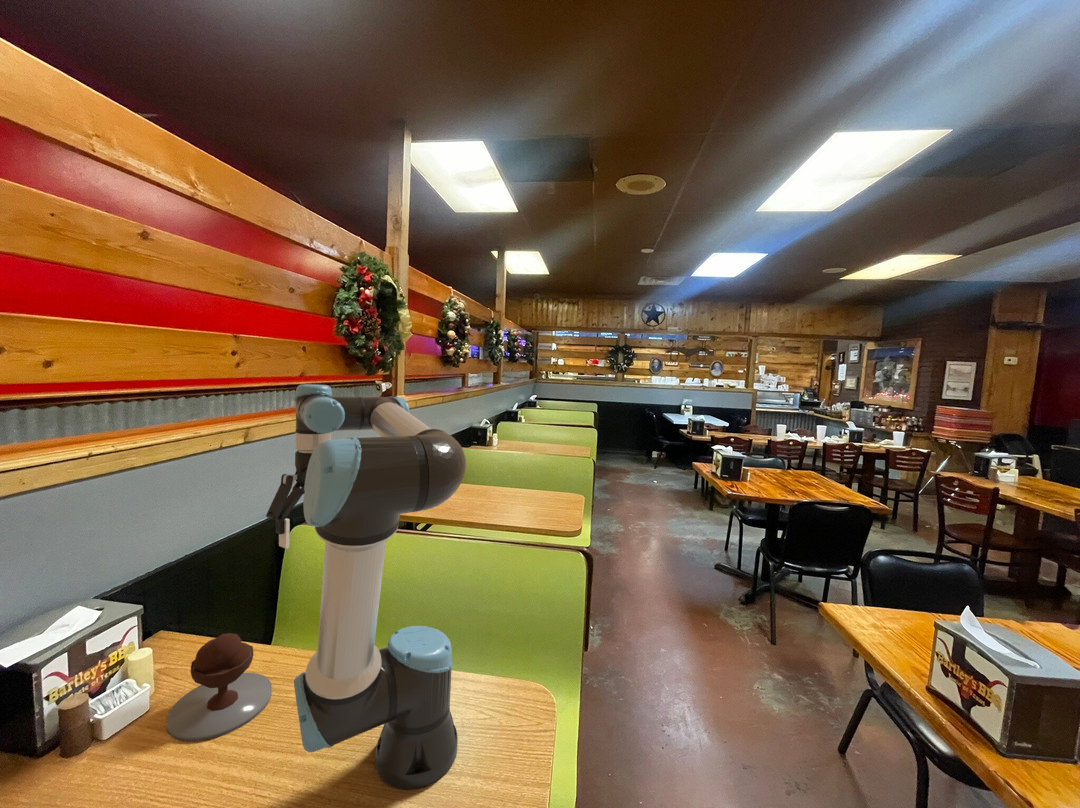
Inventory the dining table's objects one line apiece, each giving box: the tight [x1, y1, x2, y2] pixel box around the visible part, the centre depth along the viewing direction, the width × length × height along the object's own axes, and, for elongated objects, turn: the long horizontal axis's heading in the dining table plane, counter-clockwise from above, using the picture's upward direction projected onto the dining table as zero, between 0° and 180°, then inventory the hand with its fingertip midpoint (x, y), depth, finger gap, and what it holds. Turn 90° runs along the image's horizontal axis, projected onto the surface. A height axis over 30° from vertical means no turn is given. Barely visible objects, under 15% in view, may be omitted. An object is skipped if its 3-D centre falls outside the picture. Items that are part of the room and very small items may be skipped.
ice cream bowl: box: [190, 632, 254, 711], centre depth 93 cm, size 11×11×15 cm
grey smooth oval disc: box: [165, 672, 273, 742], centre depth 93 cm, size 18×18×1 cm
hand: (312, 537), depth 106 cm, fingers open, 13 cm apart
